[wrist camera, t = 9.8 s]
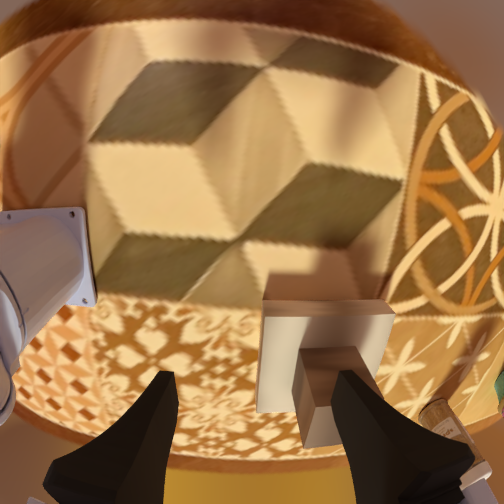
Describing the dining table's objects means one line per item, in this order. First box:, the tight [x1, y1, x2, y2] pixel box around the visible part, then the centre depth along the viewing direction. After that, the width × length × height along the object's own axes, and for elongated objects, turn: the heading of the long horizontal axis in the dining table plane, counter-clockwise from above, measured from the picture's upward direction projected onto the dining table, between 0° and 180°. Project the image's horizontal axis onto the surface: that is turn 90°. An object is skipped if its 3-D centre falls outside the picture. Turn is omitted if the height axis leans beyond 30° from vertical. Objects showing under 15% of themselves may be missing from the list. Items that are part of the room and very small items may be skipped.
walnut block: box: [291, 346, 384, 449], centre depth 19 cm, size 4×4×6 cm
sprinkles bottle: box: [418, 399, 492, 491], centre depth 23 cm, size 5×5×13 cm
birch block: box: [255, 299, 396, 413], centre depth 23 cm, size 10×10×3 cm
